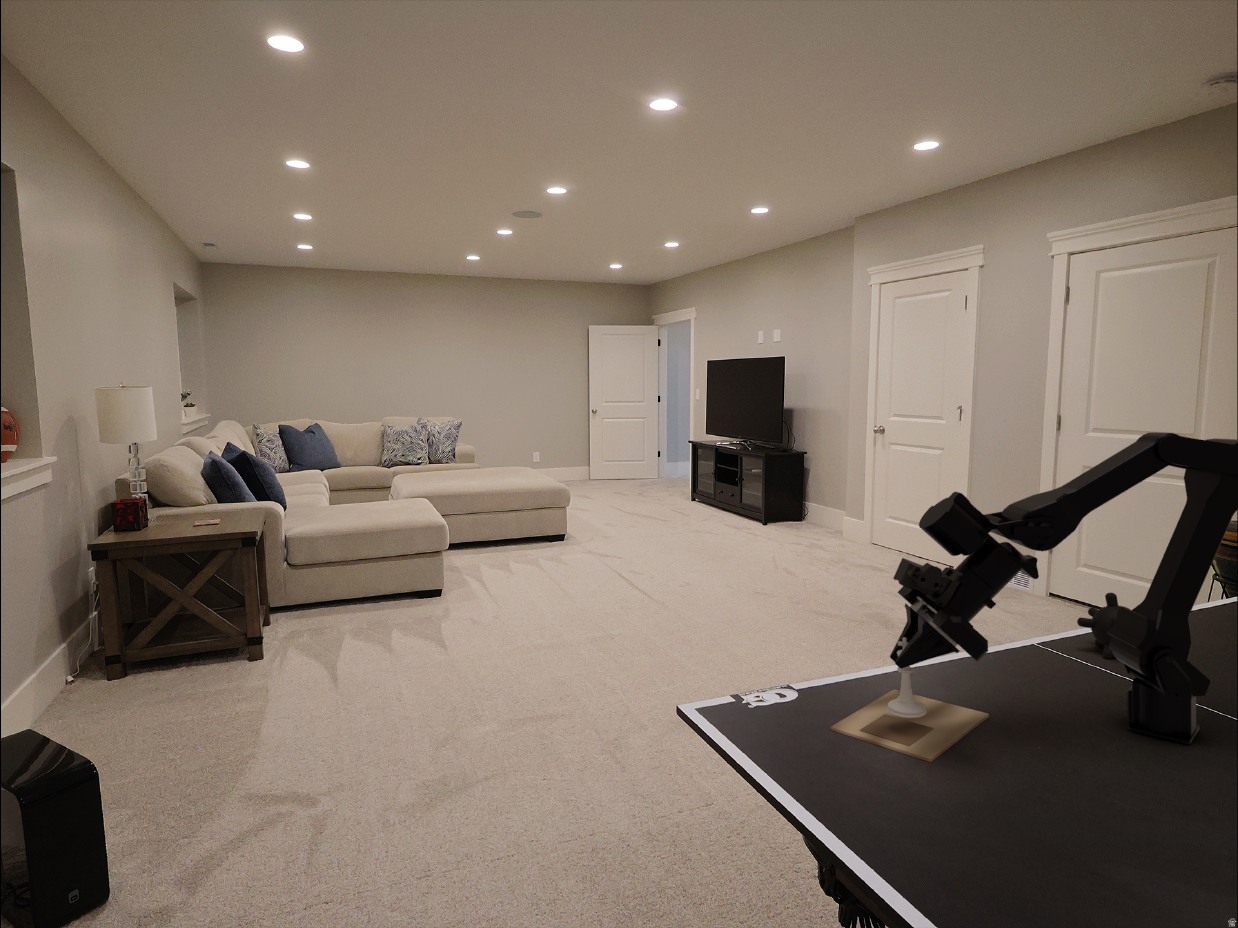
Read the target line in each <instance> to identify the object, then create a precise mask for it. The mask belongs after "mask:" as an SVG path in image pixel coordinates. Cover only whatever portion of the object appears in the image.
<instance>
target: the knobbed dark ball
mask: <svg viewBox="0 0 1238 928" xmlns="http://www.w3.org/2000/svg"><path fill="white" fill-rule="evenodd" d="M1104 597H1105V602H1106V603H1105V604H1106V606H1103V607H1101V608H1100V609H1098V608H1096V607H1092V606H1091V607H1089V608H1088V610H1087V613H1088V615H1089V616H1090V617H1091V618H1087V617H1078V619H1077V621H1076V623H1077V626H1079V627H1082V628H1087V629H1090V631H1091V632H1092V635H1093V637H1094V645H1095V646H1096V647H1098V648H1101V649H1102V648H1103V650H1102V656H1103V657H1104V658H1105V659H1108V660H1112V659H1113V658H1114V657H1115V656H1114V655H1113V652H1112V650H1111V649H1110V644H1109V643H1110V639H1111V636H1112V635H1110V634H1108V633H1107V632H1108V631H1109V630H1110V629H1111V628H1112V626H1113V625H1114V623H1115V620H1116V616H1117V612H1118V610H1119V609H1120V607H1124V608H1126V609H1129V610H1131V608H1128V607H1126V606H1123V605H1119V601H1118V596H1117V594H1116V593H1114V592H1107V593H1106V594H1105V595H1104Z"/></svg>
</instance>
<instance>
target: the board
mask: <svg viewBox="0 0 1238 928" xmlns="http://www.w3.org/2000/svg"><path fill="white" fill-rule="evenodd" d="M912 694H913V693H912ZM898 696H900V690H897V689H893V690H892V689H891V690H890V691H889V692H887V693H885V694H883V695H881V696H880V697H879V698H877V699H875V700H874V701H872V702H870V703H868V704H866V705H865V706H864V707H862V708H860V709H859V710H857V711H854V713H852V714H850V715H849V716H847V717H845V718H843V719H841V720H840V721H838V722H836V723H835V724H833V725H831V726H830V731H833V732H837V733H839V734H842V735H845V736H849V737H852V738H855V739H858V740H861V741H863V742H867V743H870V744H874V745H877V746H880V747H882V748H885V749H889V750H892V751H894V752H897V753H900V754H904V755H907V756H911V757H913V758H915V759H919V760H921V761H925V762H929V763H932V762H933V761H935V760H936V759H937V758H938V757H940V756H941V755H942V754H943V753H945V752H946V751H947V750H948V749H950V748H951V747H952V746H953V745H955V744H957V742H958V741H960V740H962V738H964V737H965V736H966V735H968V734H969V733H971V732H972V731H973V730H974V729H976V727H978V726H980V724H981V723H983V722H984V721H985V720H986V719H988V718H990V714H989V713H987V712H983V711H980V710H975V709H971V708H968V707H963V706H960V705H956V704H953V703H949V702H945V701H940V700H937V699H932V698H928V697H925V696H921V695H919V694H918V695H917V694H913V697H914V698H915V699H916V701H919V702H921V703H923V704H924V705H925V707H926V711H927V713H926V715H924V716H922V717H918V718H905V717H900V716H896V715H894V714H892V713H890V712H889V711H888V709H887V708H888V703H889V702H890V701H891V700H894V699H897V697H898Z"/></svg>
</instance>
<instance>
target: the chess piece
mask: <svg viewBox="0 0 1238 928" xmlns="http://www.w3.org/2000/svg"><path fill="white" fill-rule="evenodd" d="M897 641H898V640H897ZM902 641H903V642H900V641H898V645H899V646H903V649H902V650H899V651H897V655H898V657H899V655H900V654H901V652H902V651H903V650H904V648H905V647H906V646H907V644H908V642H907V638H905V637H903V638H902ZM896 671H897V672H899V673H901V681H900V682H901V683H900V690H899V691H900V696H898V697H897V699H894V700H891V701H890V702H889V703H888V708H887V709H888V711H889V712H890V713H892V714H894V715H896V716H900V717H905V718H918V717H922V716H924V715H926V713H927V711H926V707H925V705H924V704H923V703H921V702H919V701H916V699H915V698H914V697H913V689H912V683H911V675H910V674H912V673H914V672H915V670H914V668H913V667H912V666H908V667H905V668H899V667H898V666H897V669H896Z"/></svg>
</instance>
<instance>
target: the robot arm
mask: <svg viewBox="0 0 1238 928" xmlns="http://www.w3.org/2000/svg"><path fill="white" fill-rule="evenodd" d="M1168 466H1169V467H1173V468H1178V469H1183V470H1184V469H1185V471H1184V476H1183V481H1184V487H1185V494H1186V501H1185V504H1184V506H1183V509H1182V512H1181V514H1180V516H1179V519H1178V520H1177V524H1176V525H1175V527H1174V530H1173V533H1172V535H1171V537H1170V539H1169V542H1168V545H1167V547H1166V549H1165V550H1164V552H1163V556H1162V558H1161V560H1160V563H1159V564H1158V567H1157V569H1156V572H1155V574H1154V576H1153V579H1152V582H1151V583H1150V586H1149V588H1148V591H1147V593H1146V595H1145V598H1144V599H1143V600H1142V602H1140V603H1139V604H1138V605H1137V606H1135V607H1133V609H1130V608H1129V609H1130V610H1129V609H1126V608H1124V607H1125V606H1124V607H1120V609H1119V610H1118V612H1117V616H1116V620H1115V623H1114V625H1113V626H1112V628H1111V629H1110V630H1109V631H1108V632H1107V633H1108V634H1110V635H1112V636H1111V639H1110V643H1109V644H1110V649H1111V650H1112V652H1113V655H1114V657H1115V658H1116V660H1117V661H1119V662H1120V663H1121V664H1122V667H1123V669H1124V672H1125V673H1126V674H1128V675H1131V676H1133V677H1135V678H1134V679H1133V680H1132V681H1131V687H1130V688H1129V689H1128V690H1127V691H1126V704H1127V705H1126V709H1127V710H1126V712H1127V714H1126V719H1127V721H1128V722H1130V723H1129V724H1128V729H1127V730H1129V731H1131V732H1135V733H1140V734H1144V735H1147V736H1152V737H1156V738H1159V739H1164V740H1167V741H1168V740H1169V741H1172V742H1177V743H1181V744H1186V745H1190V744H1192V742H1193V741H1194V739H1195V738H1196V736H1197V734H1198V732H1199V731H1200V726H1201V725H1200V724H1198V723H1197V697H1204V696H1206V694H1207V692H1208V689H1209V686H1210V685H1211V680H1210V679H1209V677H1207V676H1206V675H1205V674H1204V673H1202V672H1201V671H1200V670H1199V669H1198V668H1197V667H1195V666H1194V665H1193V664H1192V662H1190V661H1189V658H1190V657H1189V656H1190V654H1191V649H1192V644H1193V639H1192V633H1191V626H1190V619H1189V618H1190V614H1191V611H1192V610H1193V607H1194V605H1195V604H1196V601H1197V598H1198V596H1199V594H1200V592H1201V589H1202V587H1203V585H1204V582H1205V580H1206V578H1207V576H1208V574H1209V571H1210V569H1211V567H1212V564H1213V563H1214V560H1215V557H1216V556H1217V554H1218V553H1217V552H1218V550H1219V548H1220V546H1221V543H1222V542H1223V539H1224V537H1225V535H1226V532H1227V530H1228V528H1229V525H1230V523H1231V521H1232V519H1233V517H1234V515H1235V513H1236V512H1238V439H1234V438H1232V439H1231V438H1207V439H1201V438H1199V439H1198V438H1194V437H1188V436H1182V435H1180V434H1177V433H1174V432H1157V431H1154V432H1152V431H1151V432H1147V433H1144V434H1143V435H1141V436H1140V437H1138V439H1136V441H1134V442H1133V443H1131V444H1129V445H1128V446H1126V447H1124V448H1122V449H1121V450H1120V451H1118V452H1116V453H1114V454H1113V455H1110V457H1107V458H1106V459H1104V460H1103V461H1101V462H1100V463H1098V464H1096V465H1095V466H1093V467H1091V468H1090V469H1088V470H1086V471H1085V472H1083V473H1082V474H1080V475H1078V476H1076V477H1075V478H1073V479H1071V480H1069V481H1068V482H1066V483H1065V484H1063V485H1061V486H1059V487H1056V488H1054V489H1051V490H1048V491H1044V492H1040V493H1036V494H1032V495H1031V496H1027V497H1024V498H1022V499H1020V500H1017V501H1015V502H1012V503H1010V504H1008V505H1007V506H1005V508H1004V509H1003V510H1002V511H997V512H991V513H986V514H983V513H982V511H980V510H979V509H978V508H976V507H975V506H974V504H972V503H971V501H970V500H969V498H968V497H967V496H966V495H964V494H963V493H962V492H959V491H953V492H952V493H951V494H950V495H949V496H948V497H945V498H943V499H941V500H940V501H938V502H937V503H936V504H934V505H931V506H930V507H929V508H927V510H926V511H925V513H923V515H922V516H921V518H920V520H919V522H918V527H919V528H920V529H921V530H922V531H923V532H924V533H926V534H927V535H928V537H930V538H931V539H932V540H933V541H934V542H936V543H937V544H938V545H939V546H940V547H941V548H943V550H944V551H946V552H947V553H948V554H949V555H950V556H953V557H956V556H960V555H962V556H964V557H965V559H962V561H961V562H960V563H959V564H958V565H957V566H956V567H955V568H953V567H951V566H949V567H945V568H943V570H942V569H941V568H940V567H938V566H937V565H936V566H935V565H932V564H930V563H929V562H926V563H924V564H923V565H921V564H919V563H916V562H914V561H912V560H909V559H908V558H904V557H902V558H901V560H900V562H899V565H898V566H897V569H896V571H895V574H894V576H893V580H895V581H898V584H899V585H901V586H902V587H901V588H900V589H899V590H898V591H897V593H898V595H900V596H901V597H902V598H903V599H904V601H906V602H907V603H909V604H910V605H908V604H907V603H906V602H905V603H904V608H905V612H906V622H905V625H904V628H903V630H902V632H901V634H900V635H899V637H898V638H897V641H896V643H895V646H894V647H893V650H892V651H891V653H890V655H889V658H890V659H891V660H892V661H893V662H894V664H895V665H896V666H897V668H898V667H899V668H905V667H908V666H910V667H912V666H913V665H916V664H919V663H923V662H925V661H928V660H931V659H934V658H937V657H938V658H939V657H942V656H945V655H950V654H952V653H956V654H958V653H960V651H961V650H960V649H958V648H957V646H959V647H960V648H961V649H962V650H964V652H966V653H967V654H968V655H969V656H970V657H971V658H972V659H974V660H975V661H976V662H979V661H980V660H981V658H983V657H984V656H985V655H986V654H987V653H988V652H989V641H988V639H987V638H986V637H984V636H983V635H982V634H981V633H980V632H979V631H977V629H976V628H974V625H973V624H972V623H970V622H971V621H972V620H973V619H974V618H975V617H976V616H977V615H978V614H979V613H980V612H981V611H982V610H983V609H984V608H985V607H987V609H990V610H992V609H993V608H994V607H995V606H996V605H997V603H996V601H994V600H993V599H994V598H995V597H996V596H997V595H998V594H999V593H1000V592H1001V590H1003V589H1004V588H1005V587H1006V586H1007V585H1008V584H1009V583H1010V582H1011V581H1012V580H1013V579H1014V578H1015V577H1016V576H1017V575H1018V574H1019V573H1020V572H1021V574H1022V575H1025V576H1027V577H1029V578H1031V579H1034V580H1038V579H1039V577H1040V575H1039V570H1038V558H1037V557H1035V556H1034V555H1030V554H1023V553H1022V552H1021V551H1020V550H1018V549H1017V548H1016V547H1015V546H1014V545H1013V544H1012V543H1014V544H1017V545H1019V546H1022V547H1024V548H1026V549H1029V550H1032V551H1037V552H1047V551H1051V550H1052V549H1055V548H1056V547H1057V546H1059V545H1060V544H1061V543H1062V542H1063V541H1065V540H1066V539H1067V538H1068V537H1069V536H1071V535H1072V534H1073V533H1074V532H1075V531H1076V530H1077V528H1078V526H1080V524H1081V522H1082V520H1084V518H1085V517H1086V516H1088V515H1089V514H1090V513H1091V512H1093V511H1095V510H1096V509H1098V508H1099V507H1101V506H1103V505H1105V504H1107V503H1108V502H1110V501H1112V500H1113V499H1115V498H1116V497H1118V496H1120V495H1122V494H1123V493H1126V492H1127V491H1128V490H1130V489H1132V488H1133V487H1135V486H1137V485H1138V484H1140V483H1142V482H1143V481H1145V480H1147V479H1149V478H1150V477H1152V476H1154V475H1155V474H1157V473H1159V472H1160V471H1162V470H1164V469H1165V468H1167V467H1168ZM990 533H993V534H995V535H997V536H1000V537H1002V538H1005V539H1007V540H1008V541H1002V542H998V541H997V540H996V539H995V538H994V537H993V536H992V535H990ZM1009 541H1010V542H1012V543H1010V542H1009ZM903 637H905V638H907V642H908V644H907V646H906V647H905V648H904V650H903V651H902V652H901V654H900V655H899V657H898V655H897V651H899V650H902V649H903V646H899V645H898V641H900V642H903V641H902V638H903Z"/></svg>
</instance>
